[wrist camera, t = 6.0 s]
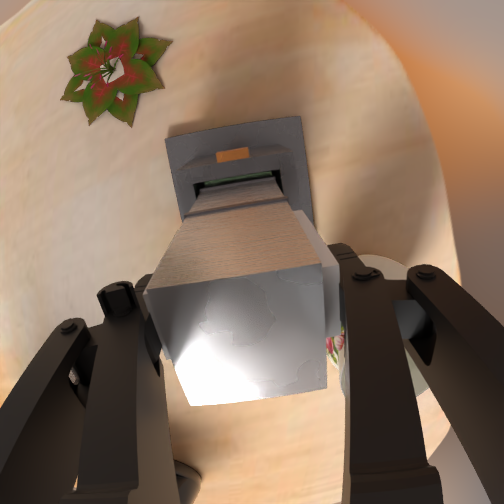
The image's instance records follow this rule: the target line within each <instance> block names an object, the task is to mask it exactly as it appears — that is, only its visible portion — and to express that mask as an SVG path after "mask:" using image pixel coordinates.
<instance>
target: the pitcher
mask: <svg viewBox="0 0 504 504" xmlns="http://www.w3.org/2000/svg"><path fill="white" fill-rule="evenodd" d="M358 257H359V258H360V260H361V261H362V262H363V263H364V265H365V266H366V267H373V268H376V269H378V270H380V271H381V272H382V273H383V275H384V278H385V279H388V280H406V278H407V271H408V270H409V268H407V267H406V266H404V265H402V264H401V263H399V262H397V261H395V260H392V259H390V258H387V257H383V256H379V255H358ZM404 348H405V347H404ZM405 352H406V356H407V360H408V364H409V368H410V372H411V377H412V381H413V386H414V390H415V395H416V397H417V396H418V395H420V394H421V393H423V392H424V391H425V390H427V389H428V388H429V386H428V384H427V383H426V381H425V379H424V378H423V376H422V374H421V373H420V371H419V369H418V368H417V366H416V365H415V363H414V361H413V360H412V358H411V357H410V355H409V353H408V352H407V350H406V349H405ZM326 355H327V356H328V358H329V360H330V361H331V363H332V364H333V365H334V366H335V367H336V368H337V369H338V370H339V380H340V387H341V390H342V393H343V394H344V396H345V358H344V328H343V326H342V324H341V335H339V336H334V337H328V338H326Z"/></svg>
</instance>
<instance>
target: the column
mask: <svg viewBox="0 0 504 504" xmlns="http://www.w3.org/2000/svg"><path fill="white" fill-rule="evenodd" d="M200 192H201V193H200V194H199V196H198V198H197V199H196V201H195V203H194V204H193V206H192V208H191V210H190V211H189V212H188V213H185V214H184V215H183V216H184V222H183V223H182V225H181V227H180V228H179V230H178V232H177V234H176V236H175V237H174V239H173V241H172V243H171V244H170V246H169V248H168V250H167V252H166V253H165V255H164V257H163V259H162V261H161V263H160V264H159V266H158V268H157V270H156V272H155V274H154V275H153V277H152V279H151V281H150V283H149V285H148V287H147V289H146V291H147V294H148V297H149V300H150V303H151V306H152V309H153V312H154V314H155V317H156V320H157V323H158V326H159V328H160V331H161V334H162V337H163V339H164V342H165V345H166V347H167V350H168V352H169V355H170V357H171V360H172V363H173V365H174V368H175V370H176V372H177V375H178V377H179V380H180V382H181V385H182V387H183V389H184V392H185V394H186V396H187V399H188V401H189V403H190V405H191V406H194V405H208V404H220V403H231V402H241V401H249V400H258V399H265V398H272V397H279V396H286V395H292V394H298V393H304V392H310V391H315V390H320V389H326V388H327V358H326V329H325V308H324V290H323V275H322V263H321V261H320V259H319V257H318V255H317V253H316V252H315V250H314V248H313V246H312V244H311V243H310V241H309V239H308V237H307V235H306V234H305V232H304V230H303V228H302V227H301V225H300V223H299V221H298V220H297V218H296V216H295V214H294V213H293V211H292V209H291V207H290V206H289V198H288V196H284V195H283V194H282V192H281V190H280V189H279V187H278V185H277V183H276V180H275V176H272V172H271V171H264V172H258V173H251V174H245V175H239V176H233V177H227V178H221V179H216V180H210V181H205V186H204V188H200Z"/></svg>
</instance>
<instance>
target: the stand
mask: <svg viewBox="0 0 504 504" xmlns="http://www.w3.org/2000/svg"><path fill="white" fill-rule="evenodd" d="M165 143H166V148H167V153H168V158H169V163H170V168H171V173H172V178H173V183H174V187H175V192H176V197H177V201H178V206H179V210H180V215H181V219H182V223H183V222H184V216H183V215H184V214H185V213H188V212H189V211H190V210H191V208H192V206H193V204H194V203H195V201H196V199H197V198H198V196H199V194H200V193H201V192H200V188H204V186H205V181H210V180H216V179H221V178H227V177H233V176H239V175H245V174H251V173H258V172H264V171H271V172H272V176H275V180H276V183H277V185H278V187H279V189H280V190H281V192H282V194H283V195H284V196H288V198H289V206H290V207H291V209H292V211H297V210H303V212H304V213H305V215H306V216H307V217H308V219H309V220H310V222H311V223H312V225H313V226H314V223H313V213H312V203H311V194H310V186H309V177H308V169H307V161H306V153H305V146H304V138H303V131H302V124H301V118H300V116H295V117H287V118H279V119H271V120H264V121H257V122H250V123H244V124H237V125H231V126H226V127H220V128H215V129H209V130H204V131H199V132H194V133H189V134H184V135H180V136H175V137H171V138H166V139H165Z"/></svg>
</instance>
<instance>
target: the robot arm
mask: <svg viewBox="0 0 504 504" xmlns="http://www.w3.org/2000/svg"><path fill="white" fill-rule="evenodd" d="M293 213H294V214H295V216H296V218H297V220H298V221H299V223H300V225H301V227H302V228H303V230H304V232H305V234H306V235H307V237H308V239H309V241H310V243H311V244H312V246H313V248H314V250H315V252H316V253H317V255H318V257H319V259H320V261H321V263H322V275H323V290H324V308H325V329H326V338H328V337H334V336H339V335H341V324H342V326H343V328H344V358H345V450H344V473H343V489H342V503H341V504H444V503H443V494H442V486H441V480H440V476H439V472H438V470H437V469H436V467H435V466H431V465H429V464H428V462H427V457H426V451H425V445H424V438H423V432H422V426H421V421H420V415H419V410H418V405H417V400H416V395H415V390H414V386H413V381H412V377H411V372H410V368H409V364H408V360H407V356H406V352H405V349H406V350H407V352H408V353H409V355H410V357H411V358H412V360H413V361H414V363H415V365H416V366H417V368H418V369H419V371H420V373H421V374H422V376H423V378H424V379H425V381H426V383H427V384H428V386H429V388H430V389H431V391H432V393H433V394H434V396H435V398H436V399H437V401H438V403H439V405H440V406H441V408H442V410H443V411H444V413H445V415H446V417H447V418H448V420H449V422H450V424H451V426H452V427H453V429H454V431H455V433H456V435H457V436H458V438H459V440H460V442H461V444H462V446H463V447H464V449H465V451H466V453H467V455H468V457H469V459H470V461H471V463H472V465H473V467H474V469H475V471H476V473H477V475H478V477H479V479H480V480H481V483H482V485H483V487H484V489H485V491H486V493H487V495H488V497H489V499H490V501H491V504H504V327H503V326H502V325H501V324H500V323H499V322H498V321H497V320H496V319H495V318H494V317H493V316H492V315H491V314H490V313H489V312H488V311H487V310H486V309H485V308H484V307H483V306H481V304H480V303H478V302H477V301H476V300H475V299H474V298H473V297H472V296H471V295H470V294H469V293H467V292H466V291H465V290H464V289H463V288H462V287H461V286H460V285H459V284H458V283H456V282H455V281H454V280H453V279H452V278H451V277H450V276H448V275H447V274H446V273H445V272H444V271H443V270H441V269H439V268H438V267H435V266H432V265H428V264H427V265H426V264H422V265H417V266H414V267H411V268H410V269H409V270H408V271H407V278H406V280H388V279H385V278H384V275H383V273H382V272H381V271H380V270H378V269H376V268H373V267H366V266H365V265H364V263H363V262H362V261H361V260H360V258H359V257H358V256H357V255H356V254H355V253H354V251H353V250H352V249H351V248H350V247H349V246H347V245H345V244H343V243H338V244H332V245H326V244H325V242H324V241H323V239H322V238H321V237H320V235H319V234H318V232H317V231H316V229H315V228H314V226H313V225H312V223H311V222H310V220H309V219H308V217H307V216H306V215H305V213H304V212H303V210H297V211H293ZM177 232H178V231H177ZM176 234H177V233H176ZM176 234H175V236H176ZM175 236H174V237H175ZM173 239H174V238H173ZM172 241H173V240H172ZM172 241H171V243H172ZM171 243H170V244H171ZM169 246H170V245H169ZM168 248H169V247H168ZM168 248H167V250H168ZM167 250H166V252H167ZM166 252H165V253H166ZM164 255H165V254H164ZM163 257H164V256H163ZM163 257H162V259H163ZM162 259H161V261H162ZM161 261H160V263H161ZM160 263H159V264H160ZM158 266H159V265H158ZM157 268H158V267H157ZM157 268H156V270H157ZM156 270H155V272H156ZM155 272H154V273H153V274H147V275H145V276H144V277H142V278H141V279H140V280H139V281H138V282H137V284H136V285H135V288H133V285H132V283H131V282H129V281H121V282H116V283H113V284H110V285H108V286H106V287H104V288H103V289H101V290H100V291H99V292H98V294H97V297H98V300H99V302H100V305H101V308H102V310H103V312H104V315H105V318H104V322H103V324H100V325H97V326H93V327H90V328H88V327H87V325H86V323H85V321H84V319H82V318H73V319H71V318H70V319H67V320H65V321H63V323H61V324H60V325H58V326H57V327H56V328H55V329H54V331H53V332H52V333H51V335H50V336H49V337H48V339H47V340H46V342H45V343H44V344H43V346H42V347H41V348H40V350H39V351H38V353H37V354H36V355H35V357H34V358H33V360H32V361H31V363H30V364H29V365H28V367H27V368H26V370H25V371H24V373H23V374H22V376H21V377H20V379H19V380H18V382H17V383H16V385H15V386H14V388H13V389H12V391H11V392H10V394H9V395H8V397H7V398H6V400H5V402H4V403H3V405H2V406H1V408H0V504H193V503H194V501H195V499H196V497H197V495H198V493H199V491H200V485H201V478H200V476H199V474H198V473H197V472H196V471H195V470H193V469H192V468H190V467H189V466H187V465H185V464H182V463H180V462H177V461H174V460H173V454H172V447H171V439H170V431H169V423H168V413H167V404H166V393H165V382H164V370H163V364H162V362H161V359H160V357H159V355H160V352H161V348H162V349H163V352H164V355H165V357H166V360H167V359H171V357H170V355H169V352H168V350H167V347H166V345H165V342H164V339H163V337H162V334H161V331H160V328H159V326H158V323H157V320H156V317H155V314H154V312H153V309H152V306H151V303H150V300H149V297H148V294H147V291H146V289H147V287H148V285H149V283H150V281H151V279H152V277H153V275H154V274H155ZM404 347H405V348H404ZM70 370H72V372H73V374H74V375H75V377H76V381H75V383H74V384H73V383H72V382H71V380H70V378H69V377H68V376H69V373H70ZM77 476H78V480H77V488H75V487H74V485H75V482H76V479H77Z"/></svg>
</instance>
